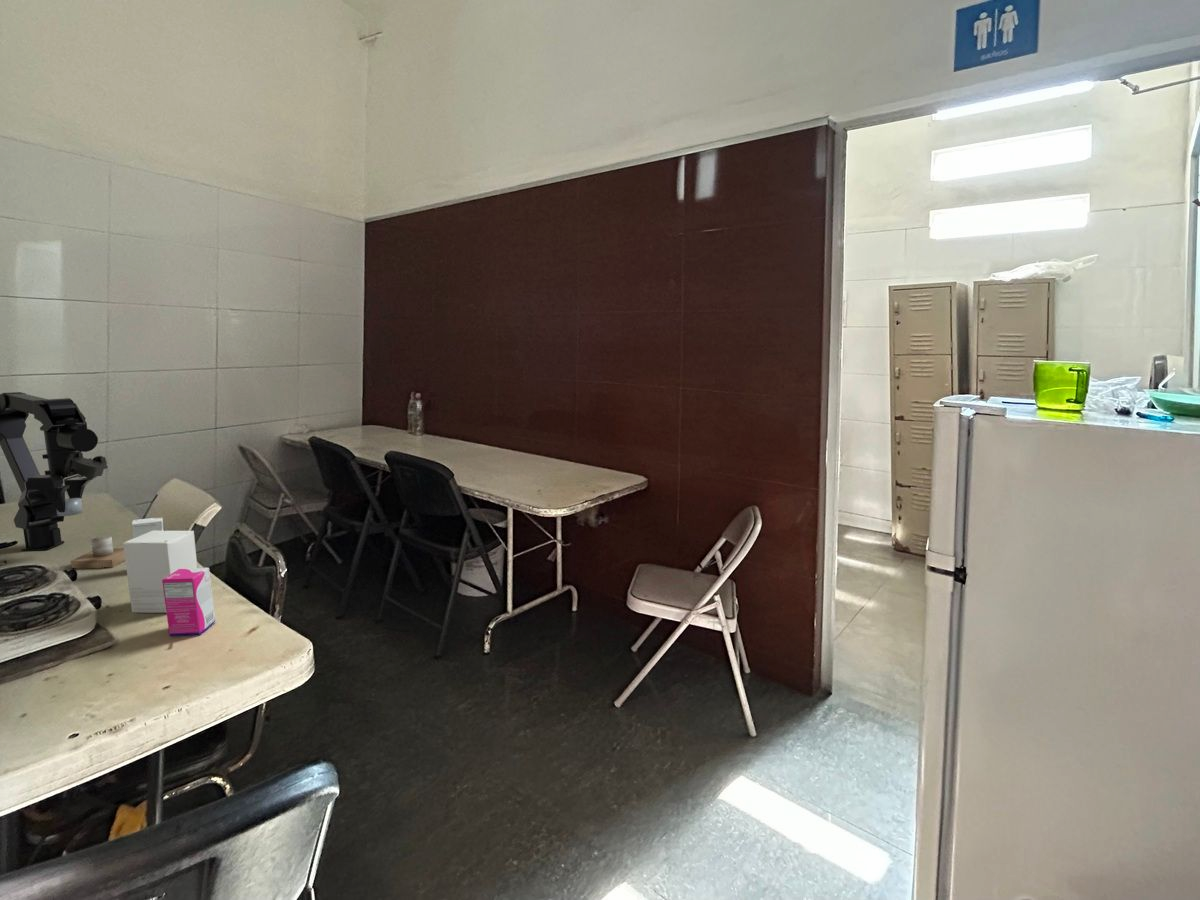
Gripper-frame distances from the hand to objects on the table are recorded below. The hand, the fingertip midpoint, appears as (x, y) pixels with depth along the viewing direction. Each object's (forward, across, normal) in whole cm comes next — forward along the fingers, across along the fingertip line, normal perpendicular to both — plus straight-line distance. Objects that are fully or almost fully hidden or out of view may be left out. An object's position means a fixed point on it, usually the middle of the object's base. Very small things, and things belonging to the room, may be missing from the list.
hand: (69, 509), depth 159 cm
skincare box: (+12, -13, -25) cm, 31 cm away
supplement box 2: (+12, -49, -51) cm, 72 cm away
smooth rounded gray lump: (+1, 0, 0) cm, 1 cm away
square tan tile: (+12, -7, -11) cm, 18 cm away
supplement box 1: (+12, -36, -40) cm, 55 cm away
